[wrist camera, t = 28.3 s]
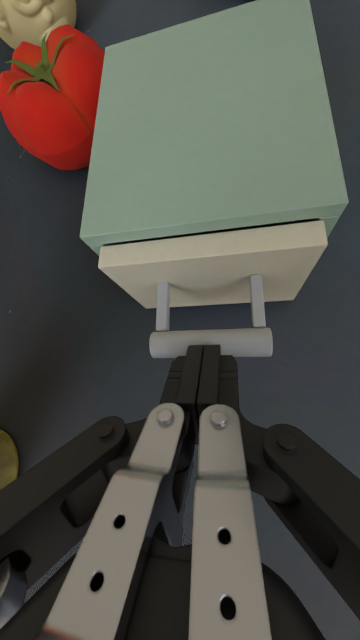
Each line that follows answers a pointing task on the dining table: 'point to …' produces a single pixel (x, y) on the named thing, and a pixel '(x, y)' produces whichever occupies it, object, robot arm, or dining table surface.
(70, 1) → the sculpture
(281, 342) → the dining table surface
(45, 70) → the tomato
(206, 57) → the cabinet
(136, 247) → the drawer
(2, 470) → the vase
